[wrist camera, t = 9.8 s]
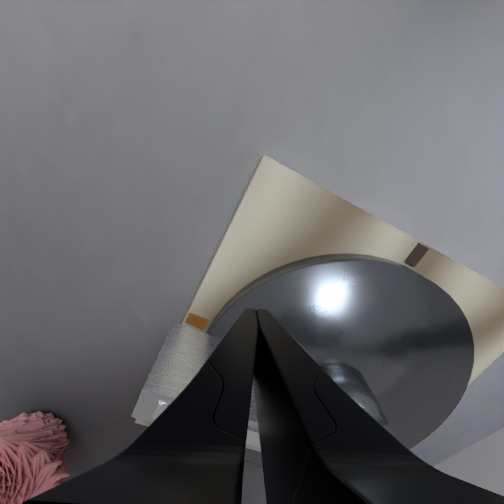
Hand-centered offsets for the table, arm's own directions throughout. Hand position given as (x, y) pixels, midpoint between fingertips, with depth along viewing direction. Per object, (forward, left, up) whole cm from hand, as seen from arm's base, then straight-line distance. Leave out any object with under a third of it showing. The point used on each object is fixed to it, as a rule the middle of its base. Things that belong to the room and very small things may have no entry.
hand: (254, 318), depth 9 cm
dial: (-8, +5, -4) cm, 10 cm away
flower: (+8, +20, -6) cm, 22 cm away
